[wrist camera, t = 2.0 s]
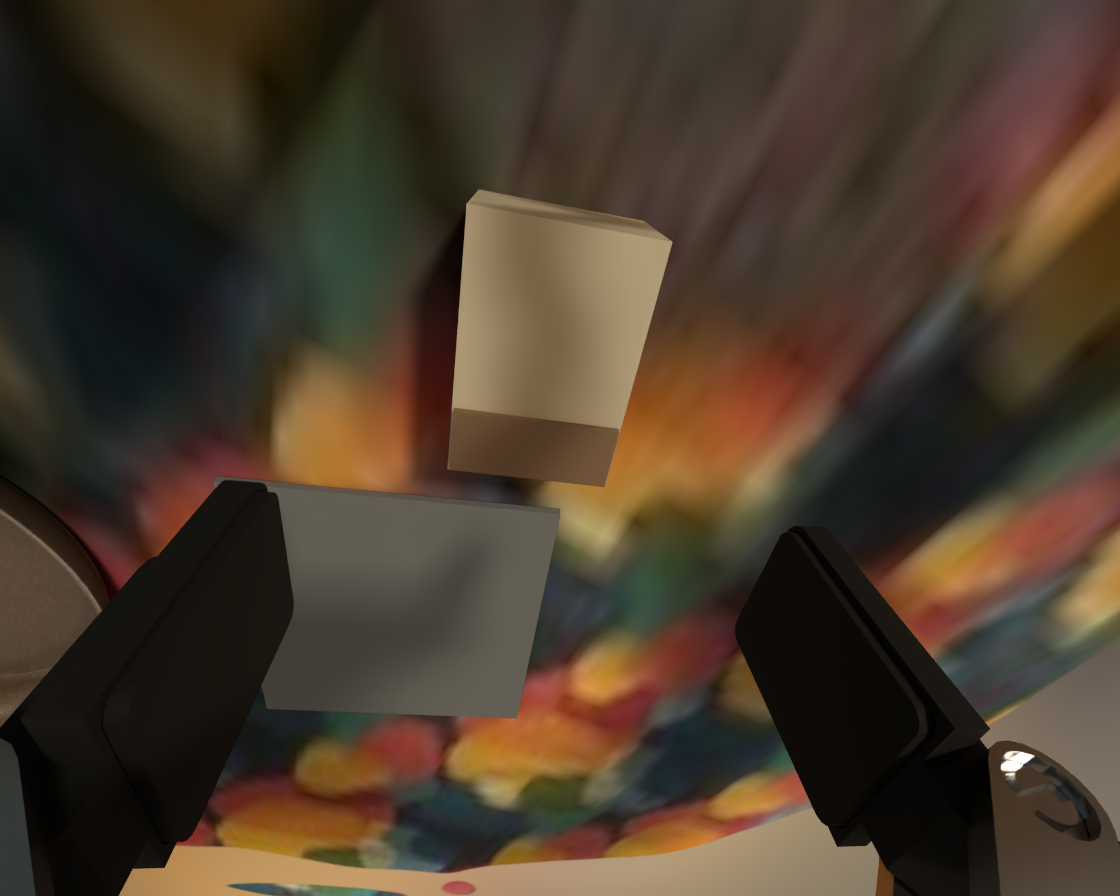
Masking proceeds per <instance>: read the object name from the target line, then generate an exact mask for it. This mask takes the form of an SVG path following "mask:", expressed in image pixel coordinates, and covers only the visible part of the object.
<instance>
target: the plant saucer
mask: <svg viewBox="0 0 1120 896" xmlns="http://www.w3.org/2000/svg"><path fill="white" fill-rule="evenodd" d="M109 602H110V599H109V596H108V592H107V589H106V587H105V585H104V582H103V580H102V578H101V576H100V574H99V572H98V570H97V568H96V567H95V565H94V563H93V562H92V560H91V559H90V557H89V556H88V554H87V553H86V551H85V550H84V549H83V547H82V546H81V545H80V544H79V543H78V541H77V540H76V539H75V538H74V537H73V536H72V534H71V533H70V532H69V531H68V530H67V529H66V528H65V527H64V526H63V525H62V524H61V523H60V522H59V521H58V520H57V519H56V518H55V517H54V516H53V515H52V514H50V513H49V512H48V511H47V510H46V509H45V508H43V507H42V506H41V505H40V504H38V503H37V502H36V501H34V500H33V499H32V498H30V497H29V496H28V495H26V494H25V493H24V492H22V491H21V490H20V489H18V488H17V487H15V486H14V485H12V484H11V483H9V482H7V481H6V480H4V479H3V478H1V477H0V727H1V726H2V725H3V724H4V723H5V721H6V720H7V719H8V718H9V717H10V716H11V715H12V713H13V712H14V711H15V710H16V709H17V708H18V706H19V705H20V704H21V703H22V702H23V701H24V700H25V698H26V697H27V696H28V695H29V694H30V693H31V692H32V690H33V689H34V688H35V687H36V686H37V685H38V684H39V682H40V681H41V680H42V679H43V678H44V677H45V675H46V674H47V673H48V672H49V671H50V670H51V669H52V667H53V666H54V665H55V664H56V663H57V662H58V661H59V659H60V658H61V657H62V656H63V655H64V654H65V653H66V651H67V650H68V649H69V648H70V647H71V646H72V644H73V643H74V642H75V641H76V640H77V639H78V638H79V636H80V635H81V634H82V633H83V632H84V631H85V630H86V628H87V627H88V626H89V625H90V624H91V623H92V622H93V620H94V619H95V618H96V617H97V616H98V615H99V613H100V612H101V611H102V610H103V609H104V608H105V607H106V605H107V604H108V603H109Z"/></svg>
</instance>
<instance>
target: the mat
mask: <svg viewBox="0 0 1120 896" xmlns="http://www.w3.org/2000/svg"><path fill="white" fill-rule="evenodd" d="M224 480H236V481H248V482H261V483H264V484H265V485H266V487H267V489H268V492H275V493H276V494H277V495H278V499H279V505H280V512H281V518H282V525H283V532H284V538H285V545H286V552H287V559H288V565H289V572H290V579H291V585H292V592H293V599H294V610H293V615H292V619H291V622H290V624H289V626H288V629H287V631H286V633H285V635H284V637H283V639H282V642H281V644H280V646H279V648H278V650H277V653H276V655H275V657H274V659H273V661H272V663H271V666H270V668H269V670H268V672H267V674H266V677H265V679H264V681H263V683H262V685H261V686H262V690H263V694H264V698H265V703H266V707H267V709H279V710H306V711H332V712H359V713H386V714H412V715H439V716H465V717H492V718H517V714H518V709H519V705H520V700H521V695H522V691H523V686H524V681H525V677H526V672H527V667H528V663H529V658H530V653H531V649H532V644H533V639H534V635H535V630H536V625H537V621H538V616H539V611H540V607H541V602H542V597H543V593H544V588H545V583H546V579H547V574H548V569H549V565H550V560H551V555H552V551H553V546H554V542H555V537H556V532H557V528H558V523H559V518H560V509H552V508H542V507H531V506H521V505H511V504H500V503H490V502H479V501H469V500H458V499H448V498H438V497H427V496H417V495H406V494H396V493H385V492H375V491H365V490H354V489H344V488H333V487H323V486H313V485H302V484H292V483H281V482H271V481H260V480H250V479H240V478H229V477H219V476H218V477H217V478H216V479H215V480H214V481H213V482H214V487H215V488H216V487H217V486H218V485H219V484H220V483H221V482H222V481H224Z"/></svg>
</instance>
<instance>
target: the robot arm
mask: <svg viewBox="0 0 1120 896" xmlns="http://www.w3.org/2000/svg"><path fill="white" fill-rule="evenodd" d="M293 610H294V599H293V592H292V585H291V579H290V572H289V565H288V559H287V552H286V545H285V538H284V532H283V525H282V518H281V512H280V505H279V499H278V495H277V494H276V493H275V492H268V489H267V487H266V485H265V484H264V483H261V482H248V481H236V480H224V481H222V482H221V483H220V484H219V485H218V486H217V487H216V488H215V489H214V491H213V492H212V493H211V494H210V495H209V496H208V498H207V499H206V500H205V501H204V502H203V503H202V505H201V506H200V507H199V508H198V509H197V511H196V512H195V513H194V514H193V515H192V516H191V518H190V519H189V520H188V521H187V522H186V523H185V525H184V526H183V527H182V528H181V529H180V531H179V532H178V533H177V534H176V535H175V536H174V538H173V539H172V540H171V541H170V542H169V543H168V545H167V546H166V547H165V548H164V549H163V550H162V552H161V553H160V554H159V555H158V556H157V557H154V558H152V559H150V560H147V561H146V562H145V563H144V564H143V565H142V566H141V567H140V568H139V569H138V570H137V571H136V572H135V573H134V574H133V576H132V577H131V578H130V579H129V580H128V581H127V582H126V584H125V585H124V586H123V587H122V588H121V589H120V591H119V592H118V593H117V594H116V595H115V596H114V597H113V599H112V600H111V601H110V602H109V603H108V604H107V605H106V607H105V608H104V609H103V610H102V611H101V612H100V613H99V615H98V616H97V617H96V618H95V619H94V620H93V622H92V623H91V624H90V625H89V626H88V627H87V628H86V630H85V631H84V632H83V633H82V634H81V635H80V636H79V638H78V639H77V640H76V641H75V642H74V643H73V644H72V646H71V647H70V648H69V649H68V650H67V651H66V653H65V654H64V655H63V656H62V657H61V658H60V659H59V661H58V662H57V663H56V664H55V665H54V666H53V667H52V669H51V670H50V671H49V672H48V673H47V674H46V675H45V677H44V678H43V679H42V680H41V681H40V682H39V684H38V685H37V686H36V687H35V688H34V689H33V690H32V692H31V693H30V694H29V695H28V696H27V697H26V698H25V700H24V701H23V702H22V703H21V704H20V705H19V706H18V708H17V709H16V710H15V711H14V712H13V713H12V715H11V716H10V717H9V718H8V719H7V720H6V721H5V723H4V724H3V725H2V726H1V727H0V896H119V894H120V892H121V890H122V888H123V886H124V884H125V882H126V880H127V879H128V877H129V875H130V873H131V871H132V869H137V868H138V869H140V868H165V866H166V864H167V862H168V859H169V857H170V855H171V853H172V851H173V849H174V847H175V845H176V843H177V842H184V841H186V840H187V839H189V838H190V836H191V835H192V834H193V832H194V831H195V829H196V827H197V825H198V823H199V821H200V819H201V816H202V814H203V812H204V810H205V808H206V805H207V803H208V801H209V799H210V797H211V794H212V792H213V790H214V788H215V786H216V784H217V781H218V779H219V777H220V775H221V773H222V770H223V768H224V766H225V764H226V762H227V760H228V757H229V755H230V753H231V751H232V749H233V746H234V744H235V742H236V740H237V738H238V736H239V733H240V731H241V729H242V727H243V725H244V722H245V720H246V718H247V716H248V714H249V711H250V709H251V707H252V705H253V703H254V701H255V698H256V696H257V694H258V692H259V690H260V687H261V685H262V683H263V681H264V679H265V677H266V674H267V672H268V670H269V668H270V666H271V663H272V661H273V659H274V657H275V655H276V653H277V650H278V648H279V646H280V644H281V642H282V639H283V637H284V635H285V633H286V631H287V629H288V626H289V624H290V622H291V619H292V615H293ZM735 634H736V639H737V642H738V644H739V646H740V648H741V650H742V653H743V655H744V657H745V659H746V661H747V664H748V666H749V668H750V670H751V672H752V675H753V677H754V679H755V681H756V683H757V686H758V688H759V690H760V692H761V694H762V697H763V699H764V701H765V703H766V706H767V708H768V710H769V712H770V714H771V717H772V719H773V721H774V723H775V725H776V728H777V730H778V732H779V734H780V736H781V739H782V741H783V743H784V745H785V747H786V750H787V752H788V754H789V756H790V758H791V761H792V763H793V765H794V767H795V769H796V772H797V774H798V776H799V778H800V780H801V783H802V785H803V787H804V789H805V791H806V794H807V796H808V798H809V800H810V802H811V805H812V807H813V809H814V811H815V813H816V815H817V816H818V818H819V819H820V821H821V822H822V823H823V824H825V825H826V826H828V828H829V830H830V832H831V834H832V836H833V839H834V840H835V843H836V845H837V847H842V846H867V845H868V844H869V843H870V842H871V841H872V843H873V845H874V847H875V848H876V850H877V852H878V854H879V867H878V878H877V887H876V896H1120V842H1119V841H1118V839H1117V836H1116V832H1115V830H1114V828H1113V825H1112V823H1111V821H1110V819H1109V817H1108V815H1107V813H1106V812H1105V810H1104V809H1103V807H1102V806H1101V805H1100V803H1099V802H1098V801H1097V799H1096V798H1095V796H1094V795H1093V794H1092V793H1091V792H1090V791H1089V790H1088V789H1087V788H1086V787H1085V786H1084V785H1083V784H1082V783H1081V782H1080V781H1079V780H1078V779H1077V778H1076V777H1075V776H1074V775H1072V774H1071V773H1070V772H1069V771H1067V770H1066V769H1065V768H1064V767H1063V766H1061V765H1060V764H1059V763H1057V762H1056V761H1054V760H1052V759H1051V758H1049V757H1048V756H1046V755H1044V754H1043V753H1042V752H1040V751H1037V750H1035V749H1033V748H1031V747H1028V746H1027V745H1024V744H1021V743H1017V742H1012V741H999V742H996V743H995V744H994V745H992V746H991V747H990V748H989V749H987V748H986V747H985V745H984V744H983V743H982V741H981V740H980V738H981V737H982V736H983V735H984V734H985V733H986V732H987V731H988V730H990V728H989V727H988V725H987V724H986V723H985V722H984V721H983V719H982V718H981V717H980V716H979V714H978V713H977V712H976V711H975V710H974V708H973V707H972V706H971V705H970V703H969V702H968V701H967V700H966V699H965V697H964V696H963V695H962V694H961V692H960V691H959V690H958V689H957V688H956V686H955V685H954V684H953V683H952V681H951V680H950V679H949V678H948V677H947V675H946V674H945V673H944V672H943V670H942V669H941V668H940V667H939V665H938V664H937V663H936V662H935V661H934V659H933V658H932V657H931V656H930V654H929V653H928V652H927V651H926V650H925V648H924V647H923V646H922V645H921V643H920V642H919V641H918V640H917V639H916V637H915V636H914V635H913V634H912V632H911V631H910V630H909V629H908V628H907V626H906V625H905V624H904V623H903V621H902V620H901V619H900V618H899V617H898V615H897V614H896V613H895V612H894V610H893V609H892V608H891V607H890V606H889V604H888V603H887V602H886V601H885V599H884V598H883V597H882V596H881V595H880V593H879V592H878V591H877V590H876V588H875V587H874V586H873V585H872V583H871V582H870V581H869V580H868V579H867V577H866V576H865V575H864V574H863V572H862V571H861V570H860V569H859V568H858V566H857V565H856V564H855V563H854V561H853V560H852V559H851V558H850V557H849V555H848V554H847V553H846V552H845V550H844V549H843V548H842V547H841V546H840V544H839V543H838V542H837V541H836V539H835V538H834V537H833V536H832V535H831V533H830V532H829V531H827V530H826V529H824V528H819V527H807V526H793V527H792V528H790V529H789V530H788V532H786V533H783V534H782V535H781V536H780V538H779V540H778V542H777V544H776V546H775V548H774V550H773V551H772V553H771V555H770V557H769V559H768V561H767V563H766V565H765V567H764V569H763V571H762V573H761V575H760V577H759V579H758V581H757V583H756V585H755V587H754V589H753V591H752V593H751V595H750V597H749V599H748V600H747V602H746V604H745V606H744V608H743V610H742V612H741V614H740V616H739V618H738V620H737V623H736V627H735Z"/></svg>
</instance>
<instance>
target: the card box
mask: <svg viewBox="0 0 1120 896" xmlns="http://www.w3.org/2000/svg"><path fill="white" fill-rule="evenodd" d="M671 246H672V241H670V240H669V239H668V238H666V237H665V236H663V235H662V234H661V233H659V232H658V231H657V230H655V229H654V228H652V227H651V226H650V225H648V224H647V223H645V222H644V221H641V220H636V219H630V218H625V217H620V216H615V215H609V214H604V213H599V212H594V211H588V210H583V209H578V208H573V207H568V206H562V205H557V204H552V203H547V202H541V201H536V200H531V199H526V198H520V197H515V196H510V195H505V194H499V193H494V192H489V191H484V190H478V191H477V192H476V194H475V195H474V196H473V197H472V198H471V199H470V201H469V202H468V203H467V207H466V220H465V234H464V248H463V262H462V275H461V289H460V303H459V316H458V330H457V344H456V358H455V371H454V385H453V399H452V412H451V426H450V440H449V453H448V467H447V469H449V470H455V471H464V472H473V473H482V474H491V475H500V476H510V477H519V478H528V479H537V480H546V481H555V482H564V483H573V484H582V485H591V486H600V487H605V484H606V481H607V477H608V473H609V470H610V466H611V462H612V459H613V455H614V452H615V448H616V444H617V441H618V437H619V434H620V430H621V426H622V423H623V419H624V415H625V412H626V408H627V405H628V401H629V397H630V394H631V390H632V387H633V383H634V379H635V376H636V372H637V369H638V365H639V361H640V358H641V354H642V350H643V347H644V343H645V340H646V336H647V332H648V329H649V325H650V322H651V318H652V314H653V311H654V307H655V303H656V300H657V296H658V293H659V289H660V285H661V282H662V278H663V275H664V271H665V267H666V264H667V260H668V256H669V253H670V249H671Z"/></svg>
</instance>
